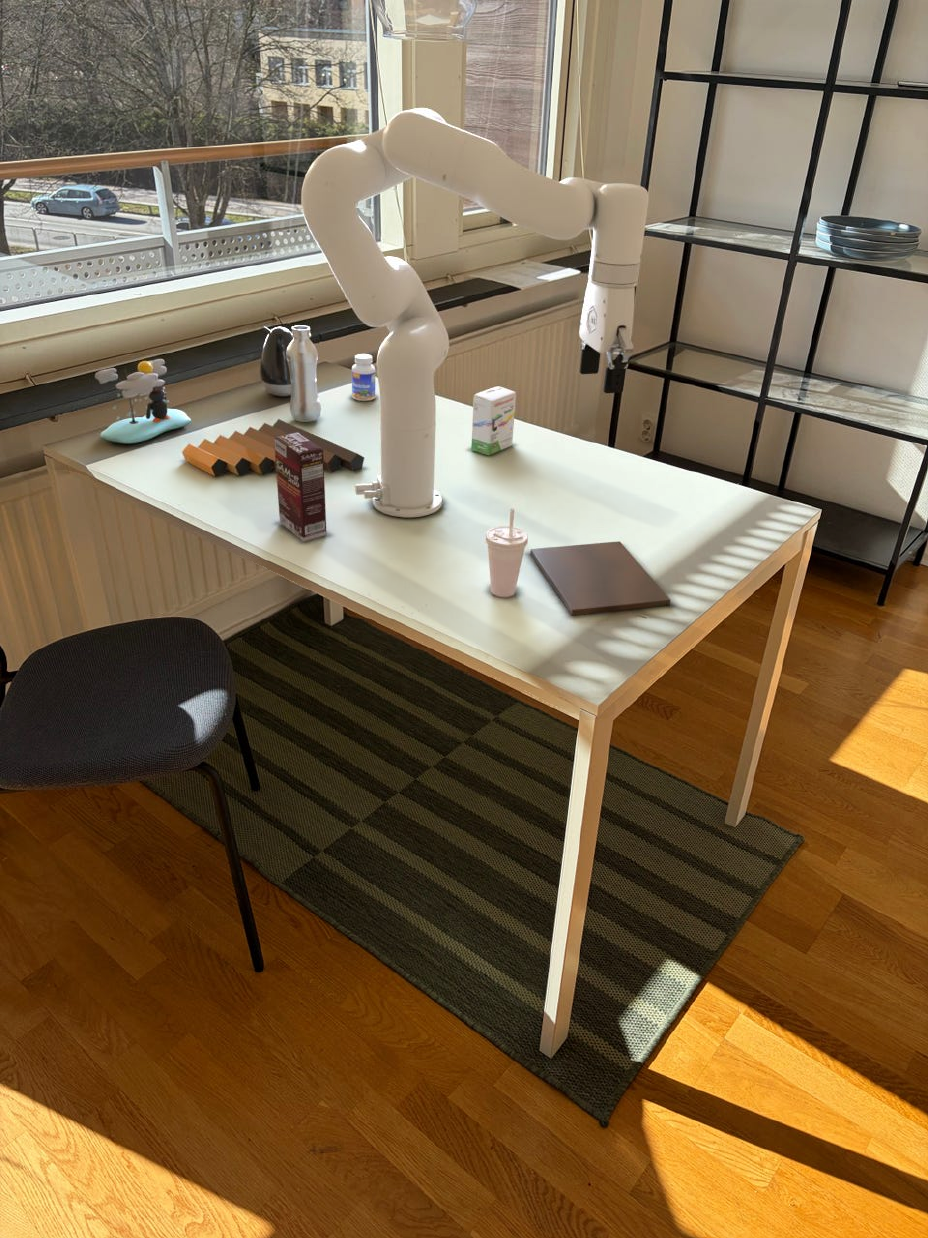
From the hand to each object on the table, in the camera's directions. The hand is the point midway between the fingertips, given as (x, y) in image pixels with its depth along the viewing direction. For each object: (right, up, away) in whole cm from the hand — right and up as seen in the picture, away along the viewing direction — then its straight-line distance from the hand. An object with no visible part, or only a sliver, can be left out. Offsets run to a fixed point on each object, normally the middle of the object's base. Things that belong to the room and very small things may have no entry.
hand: (600, 382), depth 155 cm
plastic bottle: (-57, +5, +54) cm, 78 cm away
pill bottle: (-46, +13, +68) cm, 83 cm away
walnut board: (-1, -32, -2) cm, 32 cm away
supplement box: (-50, -23, +9) cm, 56 cm away
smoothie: (-16, -34, -6) cm, 38 cm away
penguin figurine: (-88, 0, +44) cm, 99 cm away
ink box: (-16, -3, +45) cm, 48 cm away
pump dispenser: (-64, +14, +69) cm, 95 cm away
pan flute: (-59, -8, +32) cm, 68 cm away
